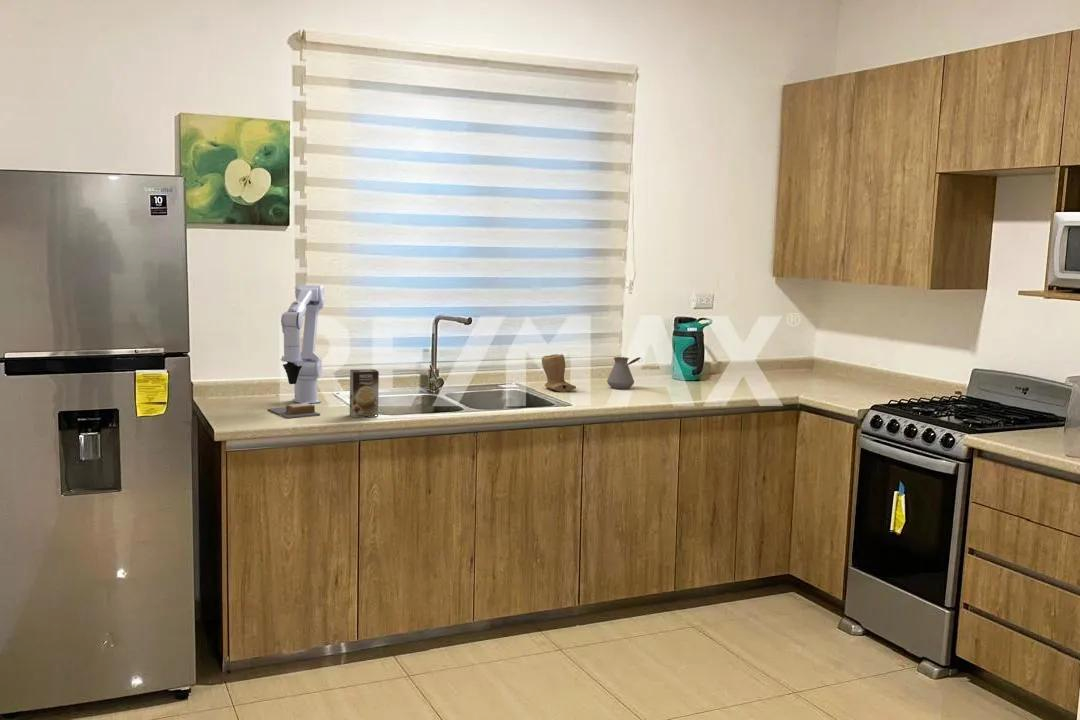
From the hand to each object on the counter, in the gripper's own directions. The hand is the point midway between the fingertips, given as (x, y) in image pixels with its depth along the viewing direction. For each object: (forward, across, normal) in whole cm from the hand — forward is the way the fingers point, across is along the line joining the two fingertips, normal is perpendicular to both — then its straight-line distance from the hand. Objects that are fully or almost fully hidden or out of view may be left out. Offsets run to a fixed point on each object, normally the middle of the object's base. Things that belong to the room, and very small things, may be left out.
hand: (292, 383), depth 356 cm
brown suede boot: (+10, +8, +112) cm, 113 cm away
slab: (+8, +3, 0) cm, 9 cm away
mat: (+10, +3, -1) cm, 10 cm away
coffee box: (+10, +20, +18) cm, 29 cm away
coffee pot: (+10, +22, +138) cm, 140 cm away
